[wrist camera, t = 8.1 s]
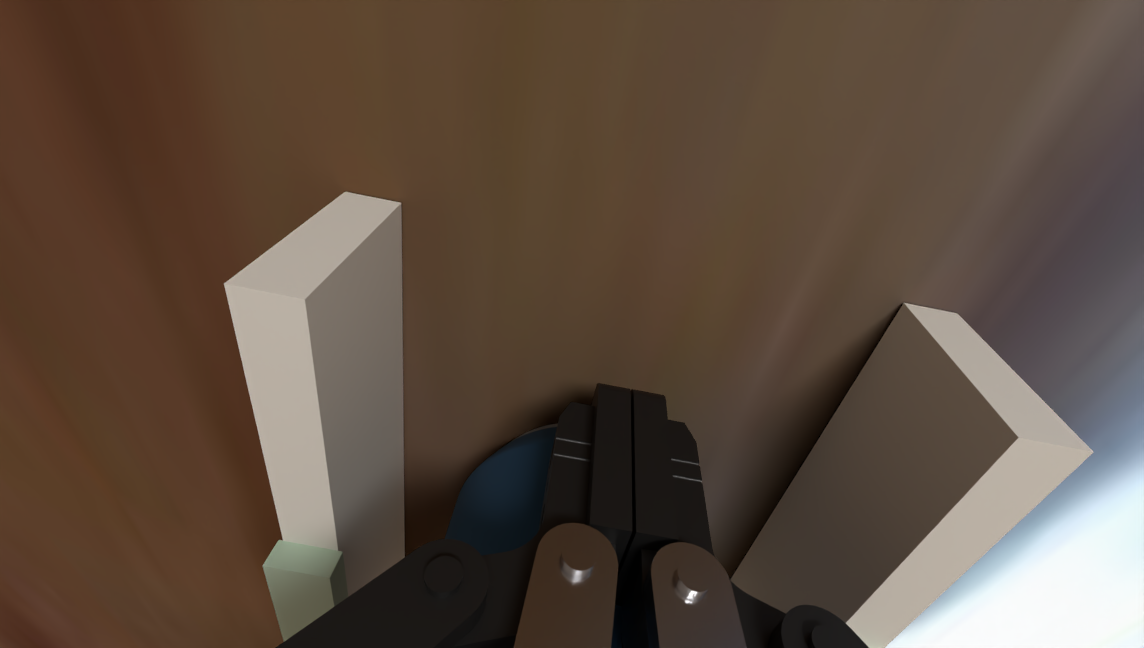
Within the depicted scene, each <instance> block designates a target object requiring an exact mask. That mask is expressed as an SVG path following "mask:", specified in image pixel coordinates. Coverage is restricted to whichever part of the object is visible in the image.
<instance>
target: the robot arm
mask: <svg viewBox="0 0 1144 648" xmlns="http://www.w3.org/2000/svg"><path fill="white" fill-rule="evenodd" d="M701 480H702V477H701V471H700V466H699V457H698V451H697V444H696V441H695V439H694V438H693V436H692V434H691V433H690V431H689V430H688V428H687V426H686V425H685V423H683V422H677V421H672V420H668V419H667V408H666V399H665V396H664V395H660V394H654V393H649V392H644V391H638V390H633V389H632V390H631V391H630V389H627V388H622V387H616V386H611V385H606V384H600V383H598V384H597V386H596V389H595V393H594V397H593V401H592V405H585V404H580V403H575V402H571V403H570V404H569V405H568V406H567V408H566V409H565V410H564V412H563V413H562V414H561V415H560V417H559V420H558V425H557V430H556V434H555V439H554V443H553V448H552V453H551V457H550V462H549V468H548V474H547V480H546V487H545V493H544V500H543V506H542V512H541V519H540V525H539V531H538V533H537V534H536V535H535V536H534V537H533V538H532V539H531V540H530V541H529V542H528V543H526V544H525V545H523V546H521V547H519V548H517V549H514V550H511V551H507V552H501V553H495V554H488V555H481V554H480V553H479V552H478V551H477V550H476V549H475V548H474V547H472V546H471V545H469V544H467V543H465V542H463V541H459V540H455V539H439V540H435V541H431V542H429V543H426V544H424V545H422V546H421V547H419V548H417V549H416V550H415V551H413V552H412V553H410V554H409V555H407V556H406V557H405V558H403V559H402V560H400V561H399V562H397V563H396V564H395V565H393V566H392V567H390V568H389V569H387V570H386V571H385V572H383V573H382V574H380V575H379V576H377V577H376V578H375V579H373V580H372V581H370V582H369V583H367V584H366V585H365V586H363V587H362V588H360V589H359V590H357V591H356V592H355V593H353V594H352V595H350V596H349V597H347V598H346V599H345V600H343V601H342V602H340V603H339V604H337V605H336V606H334V607H333V608H332V609H330V610H329V611H327V612H326V613H324V614H323V615H322V616H320V617H319V618H317V619H316V620H314V621H313V622H312V623H310V624H309V625H307V626H306V627H304V628H303V629H302V630H300V631H299V632H297V633H296V634H294V635H293V636H292V637H290V638H289V639H287V640H286V641H284V642H283V643H282V644H280V645H279V646H277V647H276V648H611V642H612V631H613V620H614V609H615V605H618V606H622V629H621V631H620V633H619V636H618V640H617V648H869V647H868V646H867V645H866V644H865V643H864V642H863V641H862V640H861V639H860V637H859V636H858V635H857V634H856V633H855V632H854V631H853V630H852V629H851V628H850V627H849V626H848V625H847V624H846V623H845V622H844V621H843V620H841V619H840V618H839V617H837V616H836V615H834V614H833V613H831V612H829V611H828V610H825V609H823V608H821V607H817V606H814V605H799V606H796V607H794V608H792V609H790V610H789V611H788V612H787V613H784V612H782V611H780V610H778V609H776V608H774V607H772V606H770V605H768V604H766V603H764V602H762V601H760V600H758V599H756V598H754V597H752V596H751V595H749V594H747V593H745V592H744V591H742V590H741V589H740V588H738V587H737V586H736V585H735V584H734V583H733V582H732V581H731V580H730V579H729V576H728V574H727V572H726V570H725V569H724V567H723V566H722V565H721V563H720V562H719V561H718V560H717V559H716V558H715V556H714V553H713V549H712V544H711V537H710V531H709V524H708V517H707V511H706V504H705V497H704V491H703V484H702V483H701Z"/></svg>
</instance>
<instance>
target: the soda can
mask: <svg viewBox="0 0 1144 648" xmlns="http://www.w3.org/2000/svg"><path fill="white" fill-rule="evenodd" d="M557 425H558V423H557V424H551V425H546V426H542V427H539V428H536V429H533V430H531V431H528V432H526V433H524V434H522V435H520V436H519V437H517V438H515V439H514V440H512V441H511V442H510V443H508V444H507V445H505V446H504V447H502V448H501V449H499V450H498V451H497V452H495V453H494V454H493V455H491V456H490V457H489V458H487V459H486V460H485V461H484V462H483V463H482V464H480V465H479V466H478V467H477V468H476V469H475V470H474V471H473V473H472V474H471V475H470V476H469V477H468V479H467V480H466V482H465V483H464V485H463V487H462V489H461V491H460V493H459V496H458V499H457V502H456V505H455V508H454V511H453V514H452V517H451V520H450V523H449V527H448V530H447V533H446V536H445V539H455V540H459V541H463V542H465V543H467V544H469V545H471V546H472V547H474V548H475V549H476V550H477V551H478V552H479V553H480V554H481V555H488V554H495V553H501V552H507V551H511V550H514V549H517V548H519V547H521V546H523V545H525V544H526V543H528V542H529V541H530V540H531V539H532V538H533V537H534V536H535V535H536V534H537V533H538V531H539V525H540V519H541V512H542V506H543V500H544V493H545V487H546V480H547V474H548V468H549V462H550V457H551V453H552V448H553V443H554V439H555V434H556V430H557ZM621 629H622V606H618V605H615V609H614V620H613V631H612V642H611V648H617V640H618V636H619V633H620V631H621Z"/></svg>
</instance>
